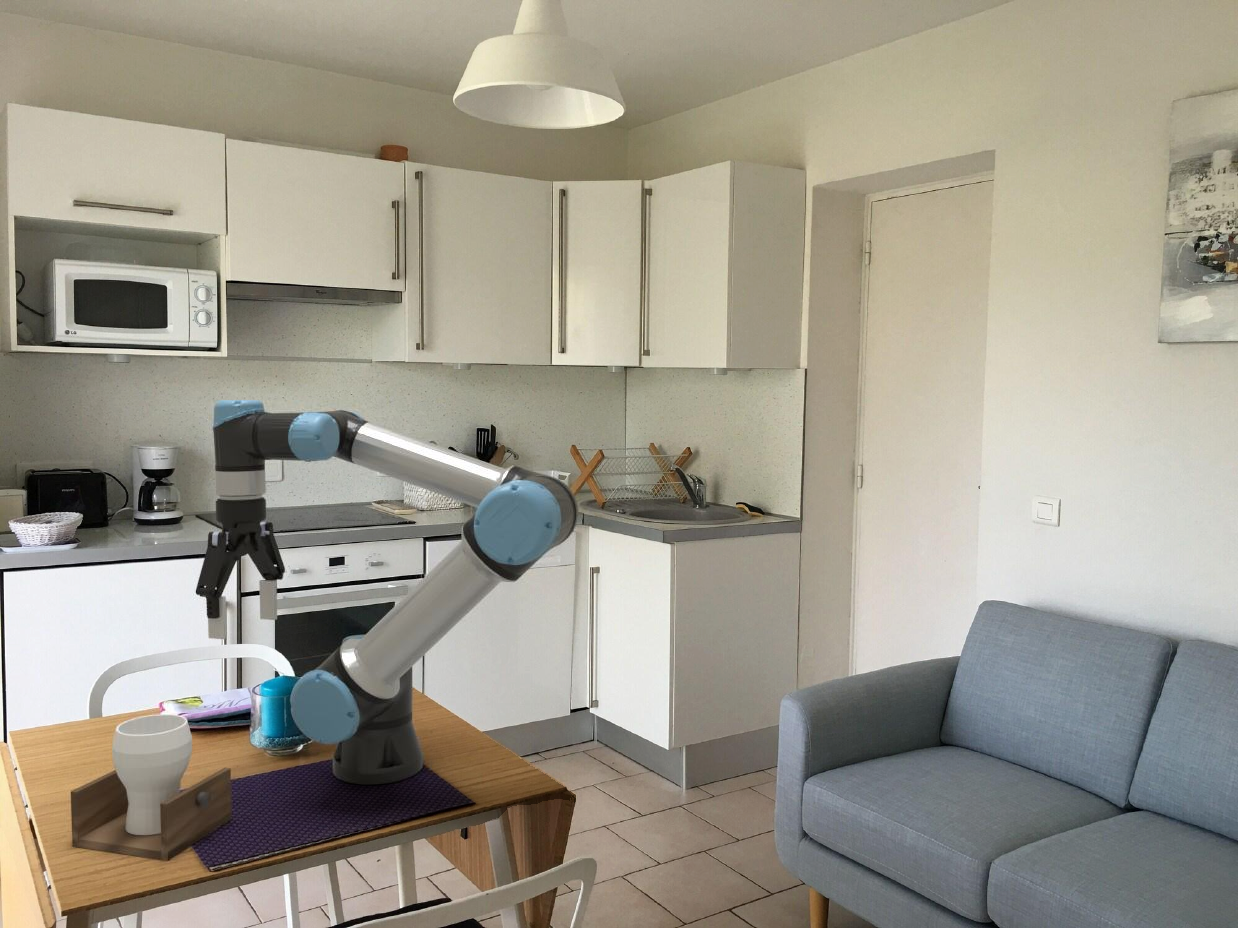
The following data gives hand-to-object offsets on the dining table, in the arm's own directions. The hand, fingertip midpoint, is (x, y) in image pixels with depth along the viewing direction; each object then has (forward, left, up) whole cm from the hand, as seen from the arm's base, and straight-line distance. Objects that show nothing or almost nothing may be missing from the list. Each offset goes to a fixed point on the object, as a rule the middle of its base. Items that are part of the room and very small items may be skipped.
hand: (244, 628), depth 164 cm
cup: (+3, +18, -26) cm, 31 cm away
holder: (+3, +18, -27) cm, 32 cm away
